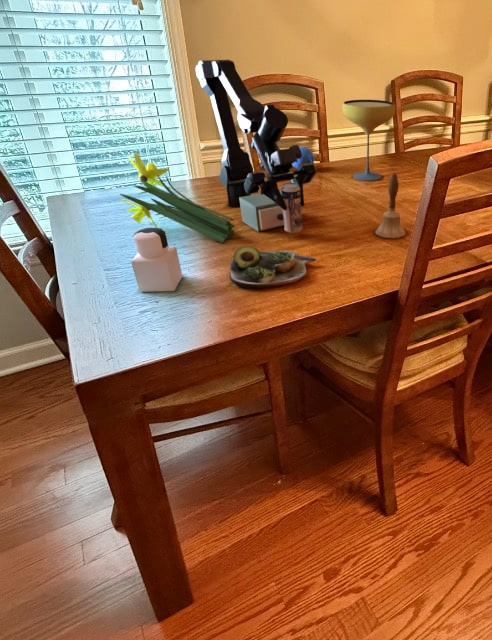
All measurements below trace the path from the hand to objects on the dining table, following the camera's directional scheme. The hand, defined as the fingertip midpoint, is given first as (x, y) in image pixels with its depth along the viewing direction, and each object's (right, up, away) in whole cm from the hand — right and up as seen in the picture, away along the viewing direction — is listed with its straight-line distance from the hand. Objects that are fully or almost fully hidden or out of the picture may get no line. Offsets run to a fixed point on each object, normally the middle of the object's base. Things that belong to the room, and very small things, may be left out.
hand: (294, 207), depth 118 cm
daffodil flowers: (-31, -4, +8) cm, 32 cm away
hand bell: (+25, -5, +9) cm, 27 cm away
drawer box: (-9, 0, +14) cm, 17 cm away
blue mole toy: (-5, +32, +63) cm, 71 cm away
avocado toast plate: (-4, -18, -12) cm, 22 cm away
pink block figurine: (-26, -21, -18) cm, 38 cm away
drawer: (-8, -1, +12) cm, 14 cm away
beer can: (-1, -5, +5) cm, 7 cm away
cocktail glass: (+19, +26, +55) cm, 64 cm away
